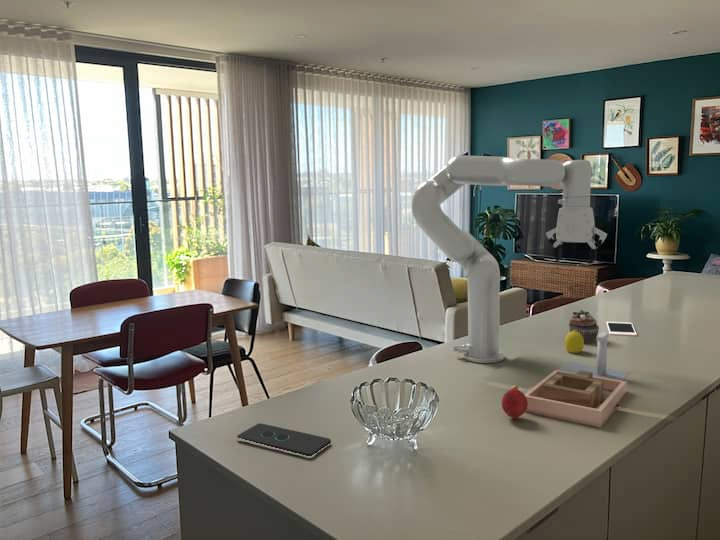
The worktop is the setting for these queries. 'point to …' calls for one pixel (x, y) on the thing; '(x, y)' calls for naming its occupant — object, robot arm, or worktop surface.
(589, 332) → the cupcake
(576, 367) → the stand
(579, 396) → the wooden bar frame
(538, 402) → the tray
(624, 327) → the cell phone
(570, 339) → the lemon
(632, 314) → the worktop surface
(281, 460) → the worktop surface
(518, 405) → the onion
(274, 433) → the slab with cyan rings
